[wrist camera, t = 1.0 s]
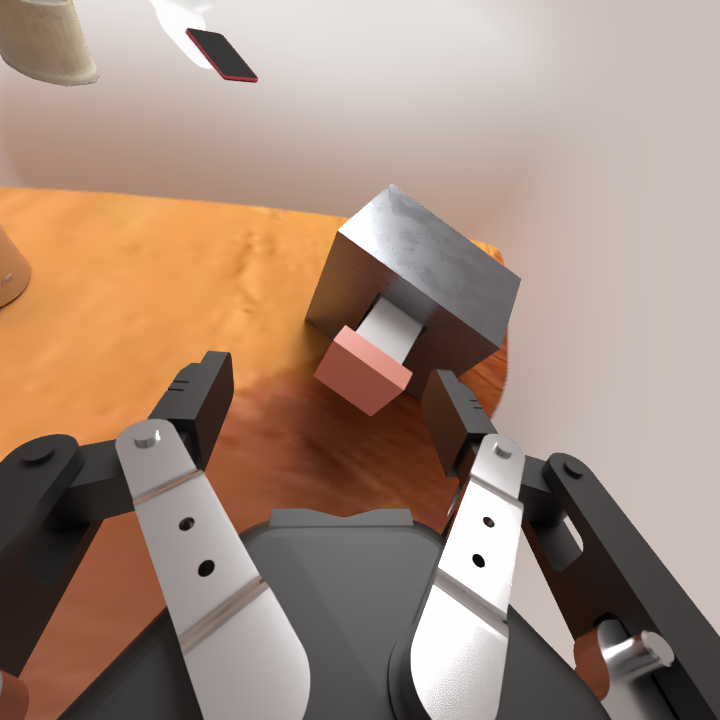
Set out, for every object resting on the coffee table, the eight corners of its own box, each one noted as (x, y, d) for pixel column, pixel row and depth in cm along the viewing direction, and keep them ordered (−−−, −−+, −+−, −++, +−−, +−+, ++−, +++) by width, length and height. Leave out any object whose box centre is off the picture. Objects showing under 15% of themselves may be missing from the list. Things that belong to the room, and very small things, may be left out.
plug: (313, 376, 30) (333, 340, 25) (374, 296, 38) (400, 255, 33) (370, 416, 31) (404, 390, 25) (419, 328, 39) (453, 293, 33)
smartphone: (223, 76, 56) (184, 27, 59) (223, 81, 57) (185, 33, 60) (259, 79, 60) (221, 33, 63) (259, 85, 61) (221, 39, 64)
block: (304, 319, 39) (337, 230, 27) (350, 270, 45) (391, 183, 34) (420, 401, 39) (500, 348, 28) (447, 341, 46) (521, 278, 35)
